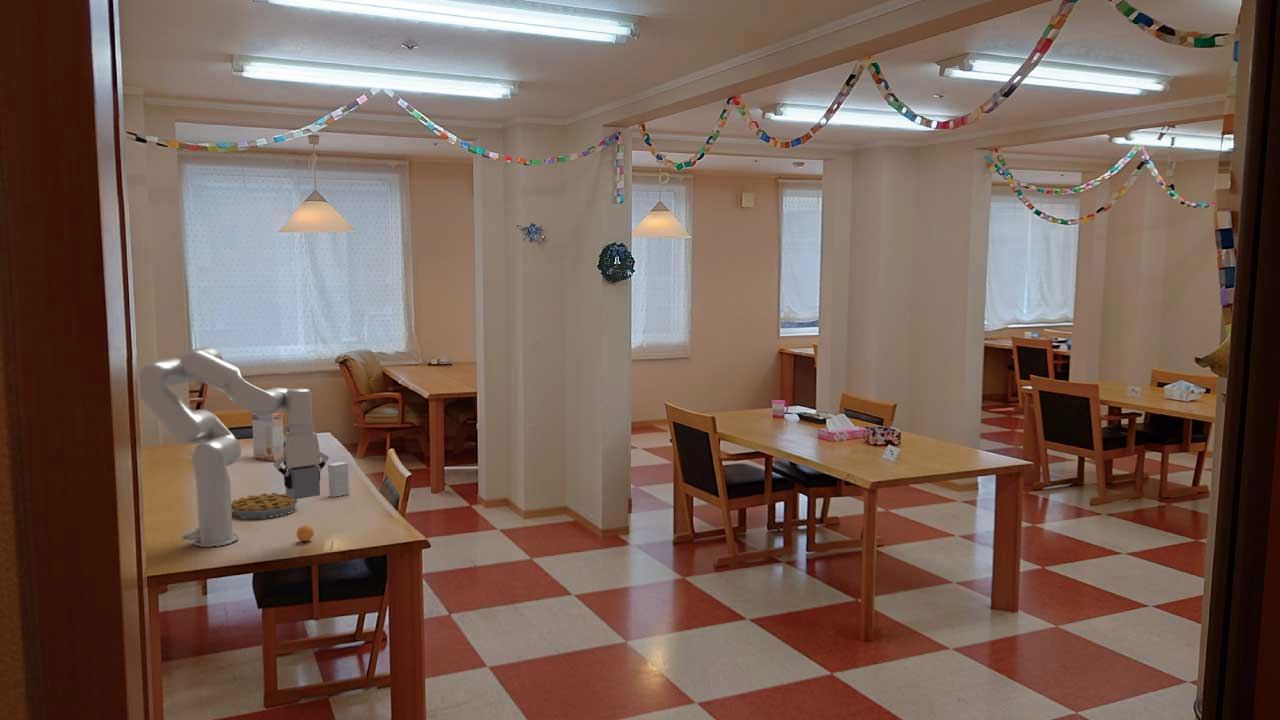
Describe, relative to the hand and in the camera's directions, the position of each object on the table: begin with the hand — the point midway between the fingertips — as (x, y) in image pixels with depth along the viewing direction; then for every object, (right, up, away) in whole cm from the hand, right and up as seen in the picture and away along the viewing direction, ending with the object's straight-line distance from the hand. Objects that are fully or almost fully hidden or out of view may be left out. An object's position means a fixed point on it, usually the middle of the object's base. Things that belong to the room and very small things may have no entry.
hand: (302, 485), depth 290 cm
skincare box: (-9, -12, +62) cm, 64 cm away
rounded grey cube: (0, -3, 0) cm, 3 cm away
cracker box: (-61, -6, +129) cm, 142 cm away
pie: (-27, -15, +38) cm, 49 cm away
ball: (0, -15, +2) cm, 15 cm away
